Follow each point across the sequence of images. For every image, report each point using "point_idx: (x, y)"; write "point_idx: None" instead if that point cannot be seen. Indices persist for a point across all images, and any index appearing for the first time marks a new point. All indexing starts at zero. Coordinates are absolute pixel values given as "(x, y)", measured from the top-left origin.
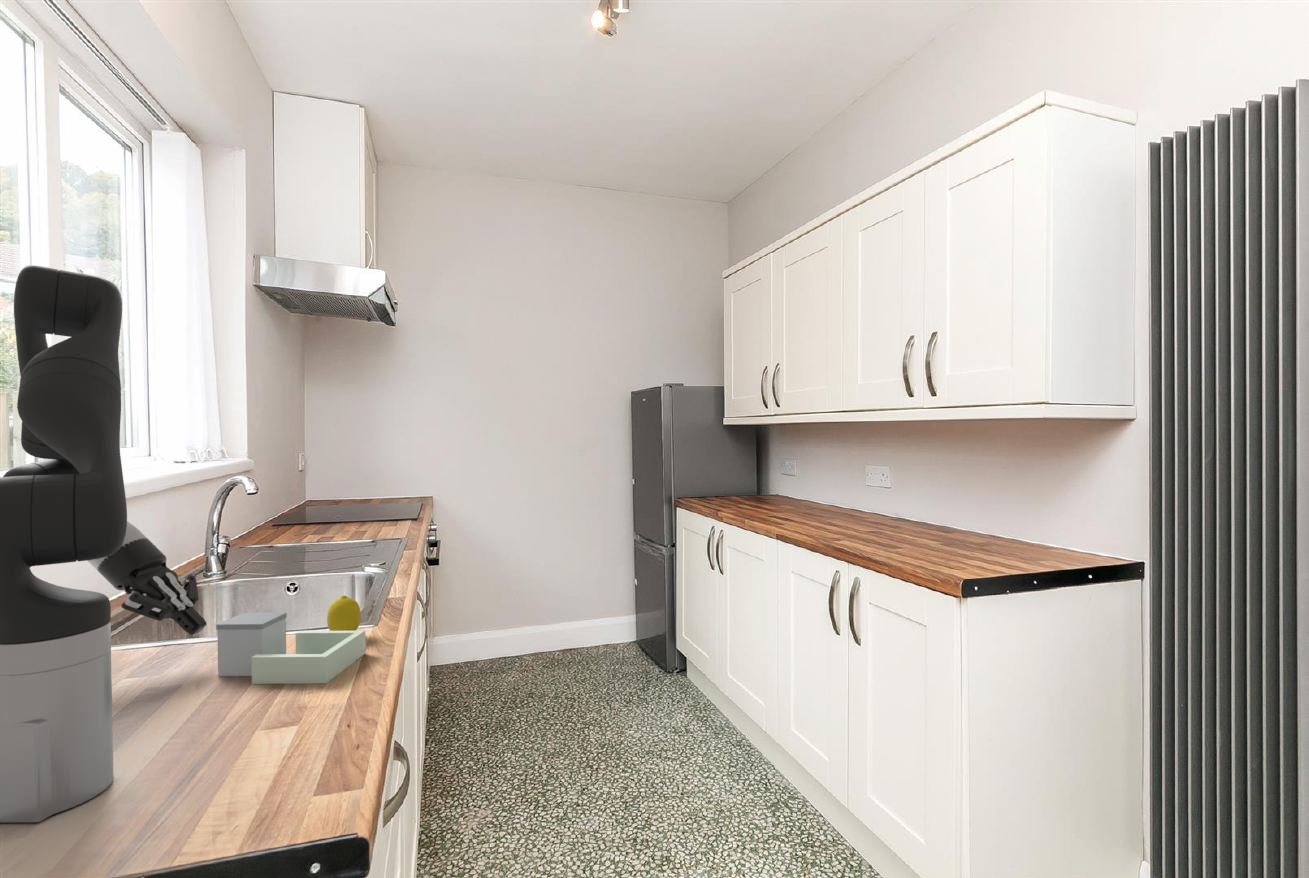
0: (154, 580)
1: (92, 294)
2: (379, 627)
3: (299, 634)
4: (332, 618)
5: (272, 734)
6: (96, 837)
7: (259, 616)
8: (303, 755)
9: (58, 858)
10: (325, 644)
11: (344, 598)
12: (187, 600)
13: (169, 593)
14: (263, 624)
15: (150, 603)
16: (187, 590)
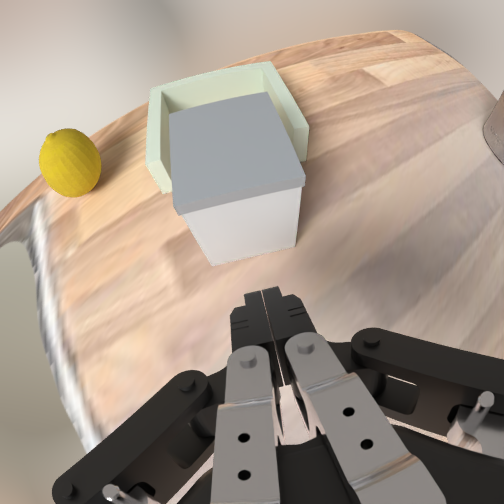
0: (438, 492)
1: None
2: (48, 185)
3: (160, 155)
4: (89, 155)
5: (383, 75)
6: (488, 100)
7: (206, 136)
8: (387, 53)
9: None
10: (167, 134)
11: (56, 133)
12: (242, 376)
13: (352, 399)
14: (263, 93)
15: (462, 350)
16: (159, 456)
